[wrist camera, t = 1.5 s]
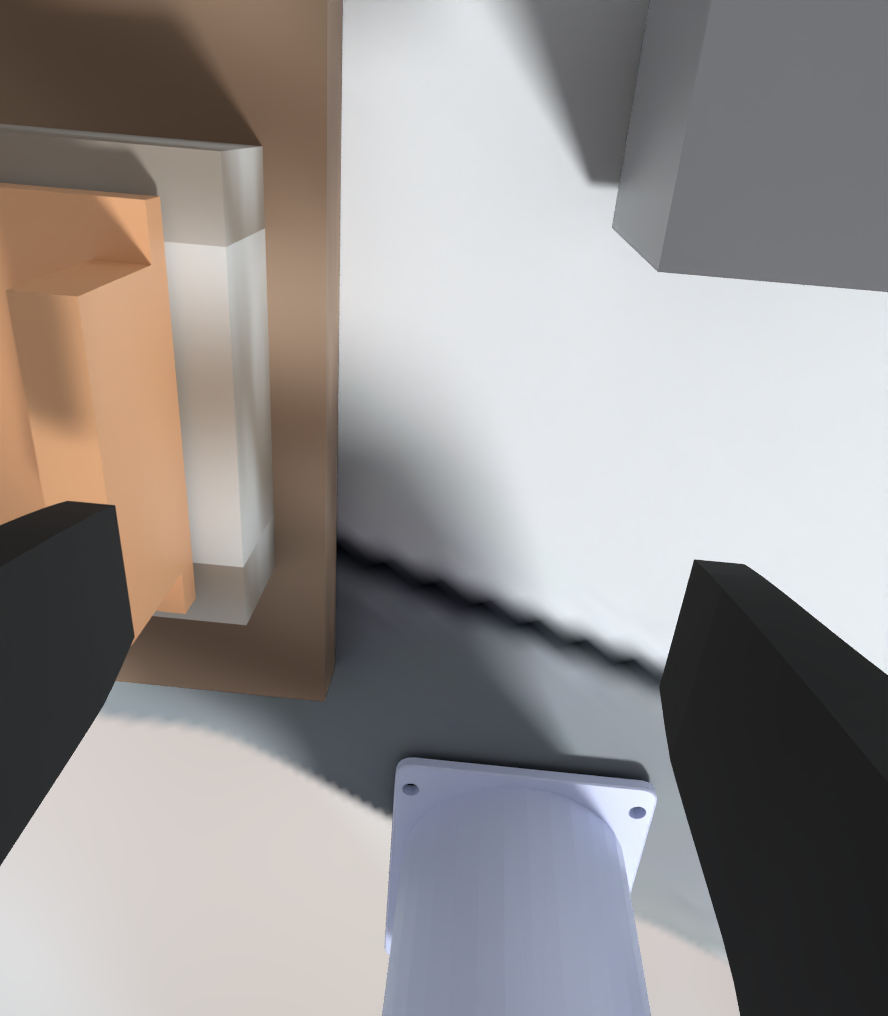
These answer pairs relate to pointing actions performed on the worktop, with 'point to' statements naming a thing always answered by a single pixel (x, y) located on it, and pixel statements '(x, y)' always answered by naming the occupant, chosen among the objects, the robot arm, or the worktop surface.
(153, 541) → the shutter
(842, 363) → the worktop surface
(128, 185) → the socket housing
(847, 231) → the plug
